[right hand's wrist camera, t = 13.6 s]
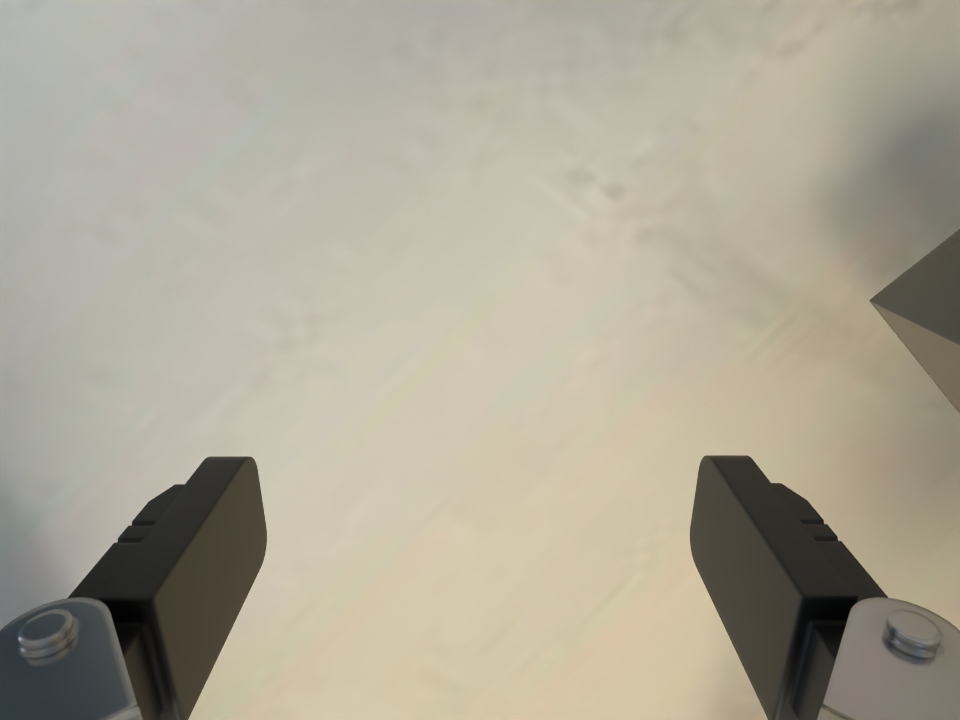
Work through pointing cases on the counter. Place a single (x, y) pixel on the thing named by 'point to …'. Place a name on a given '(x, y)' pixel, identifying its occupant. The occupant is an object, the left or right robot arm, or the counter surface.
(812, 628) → the right robot arm
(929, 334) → the box
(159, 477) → the counter surface
